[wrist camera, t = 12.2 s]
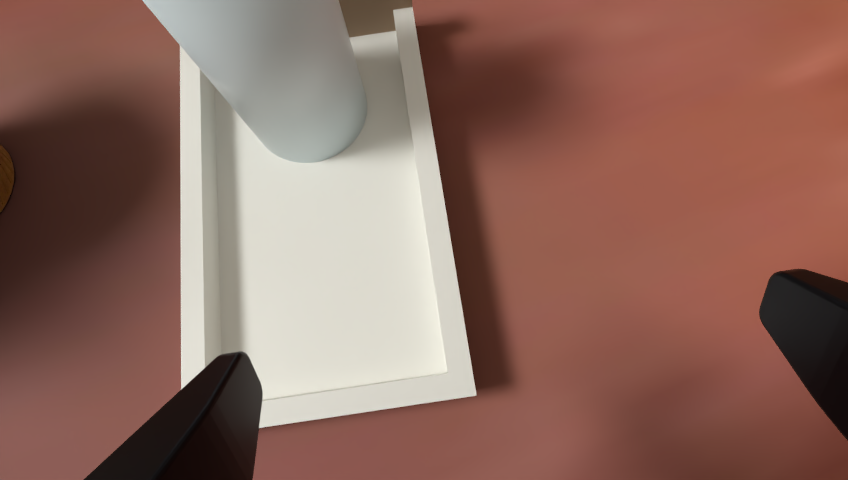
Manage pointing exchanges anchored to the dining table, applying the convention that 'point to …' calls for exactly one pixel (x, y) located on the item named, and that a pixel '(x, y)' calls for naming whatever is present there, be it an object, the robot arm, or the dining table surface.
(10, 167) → the disposable coffee cup
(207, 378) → the robot arm
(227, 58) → the white rounded wedge
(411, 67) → the drawer
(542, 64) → the dining table surface
